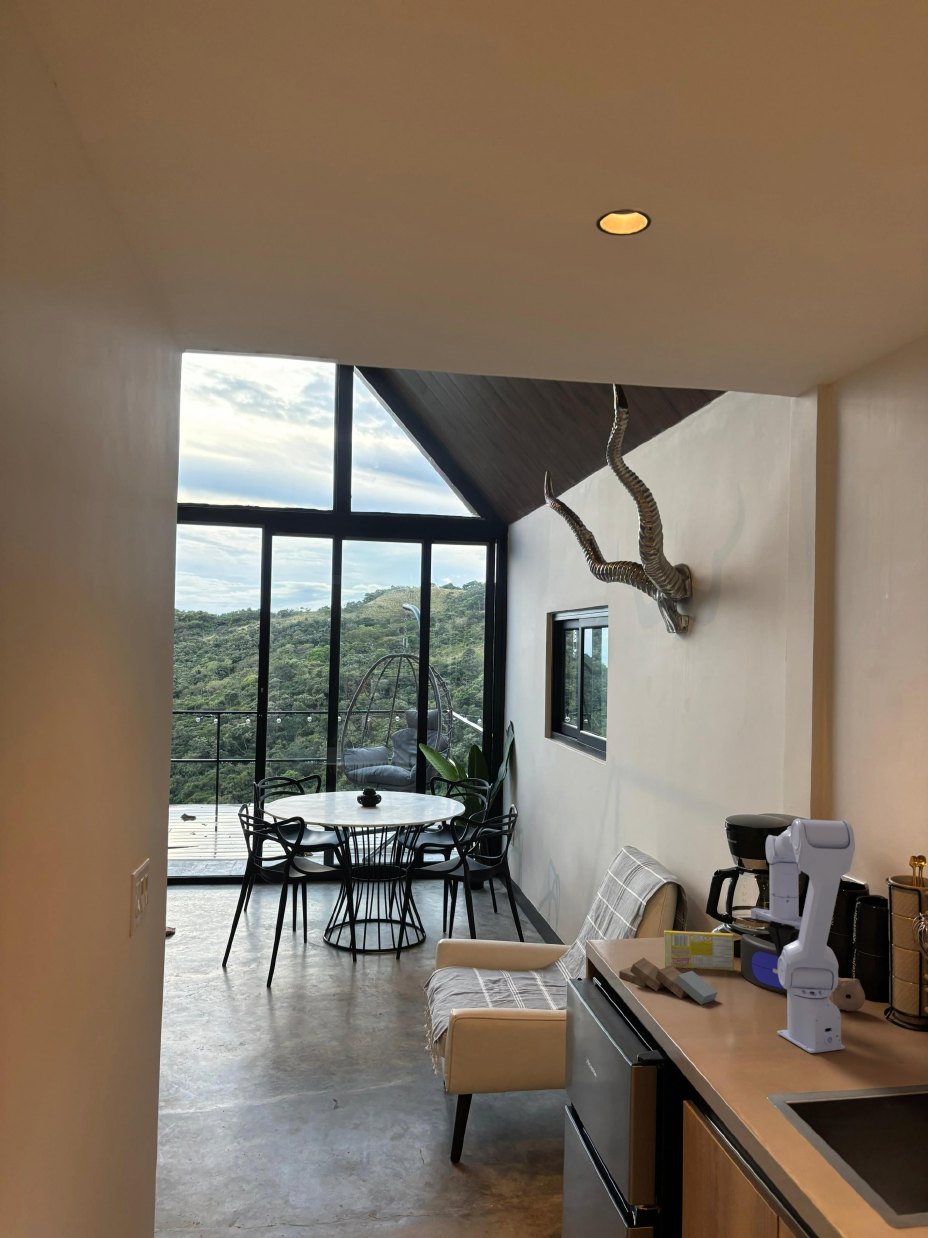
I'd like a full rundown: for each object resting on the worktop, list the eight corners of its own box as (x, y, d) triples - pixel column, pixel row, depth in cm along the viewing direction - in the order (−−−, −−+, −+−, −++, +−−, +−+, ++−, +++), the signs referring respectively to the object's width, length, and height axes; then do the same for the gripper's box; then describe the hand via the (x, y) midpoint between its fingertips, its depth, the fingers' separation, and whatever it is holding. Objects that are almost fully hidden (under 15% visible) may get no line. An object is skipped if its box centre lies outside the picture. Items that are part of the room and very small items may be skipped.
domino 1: (657, 974, 191) (632, 966, 197) (644, 979, 188) (619, 971, 193) (657, 984, 191) (632, 975, 197) (644, 988, 188) (619, 980, 193)
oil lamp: (821, 1012, 176) (821, 972, 176) (816, 1004, 180) (816, 966, 180) (867, 1015, 174) (866, 975, 175) (861, 1008, 178) (861, 969, 179)
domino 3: (696, 985, 184) (671, 965, 189) (683, 990, 181) (658, 970, 186) (693, 993, 185) (668, 973, 190) (680, 998, 181) (655, 978, 186)
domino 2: (669, 976, 188) (643, 957, 193) (659, 984, 185) (632, 964, 189) (666, 984, 189) (640, 965, 193) (656, 991, 185) (629, 971, 189)
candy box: (732, 968, 202) (732, 933, 203) (734, 971, 200) (734, 935, 201) (663, 964, 204) (663, 929, 205) (664, 967, 202) (664, 932, 202)
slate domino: (717, 992, 180) (692, 971, 186) (704, 997, 177) (678, 975, 182) (714, 1000, 181) (688, 978, 186) (700, 1005, 178) (675, 983, 183)
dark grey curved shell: (730, 975, 197) (730, 934, 198) (744, 973, 199) (744, 931, 200) (785, 999, 183) (785, 954, 183) (800, 996, 185) (800, 951, 186)
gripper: (826, 899, 175) (827, 967, 174) (763, 885, 186) (763, 948, 185) (808, 904, 170) (809, 973, 169) (745, 889, 182) (745, 954, 181)
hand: (784, 961), depth 177 cm, fingers closed
